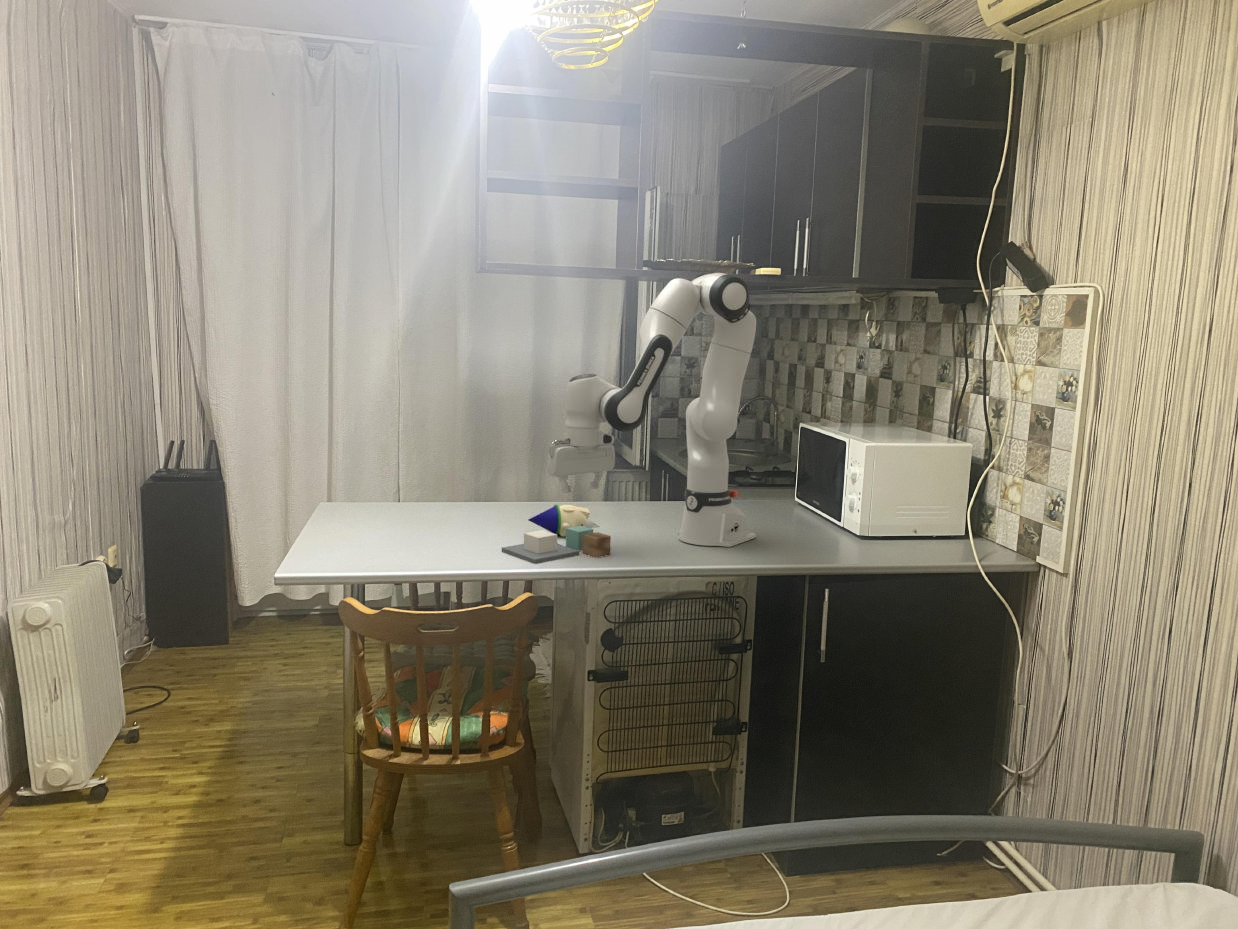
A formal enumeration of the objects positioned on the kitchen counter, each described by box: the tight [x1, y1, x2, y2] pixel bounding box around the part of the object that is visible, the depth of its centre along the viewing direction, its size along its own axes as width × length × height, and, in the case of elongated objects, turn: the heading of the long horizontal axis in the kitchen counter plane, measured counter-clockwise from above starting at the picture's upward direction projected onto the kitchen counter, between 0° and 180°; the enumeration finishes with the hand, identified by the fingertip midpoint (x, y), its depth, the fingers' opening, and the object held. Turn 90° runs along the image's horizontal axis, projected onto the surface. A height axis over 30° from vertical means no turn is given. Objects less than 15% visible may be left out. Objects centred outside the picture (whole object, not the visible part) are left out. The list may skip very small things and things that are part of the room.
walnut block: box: [582, 531, 612, 559], centre depth 234 cm, size 5×5×5 cm
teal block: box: [565, 526, 594, 551], centre depth 240 cm, size 5×5×5 cm
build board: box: [501, 529, 580, 564], centre depth 233 cm, size 14×14×5 cm
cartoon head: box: [527, 504, 600, 538], centre depth 253 cm, size 9×10×20 cm
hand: (580, 490), depth 238 cm, fingers open, 8 cm apart
